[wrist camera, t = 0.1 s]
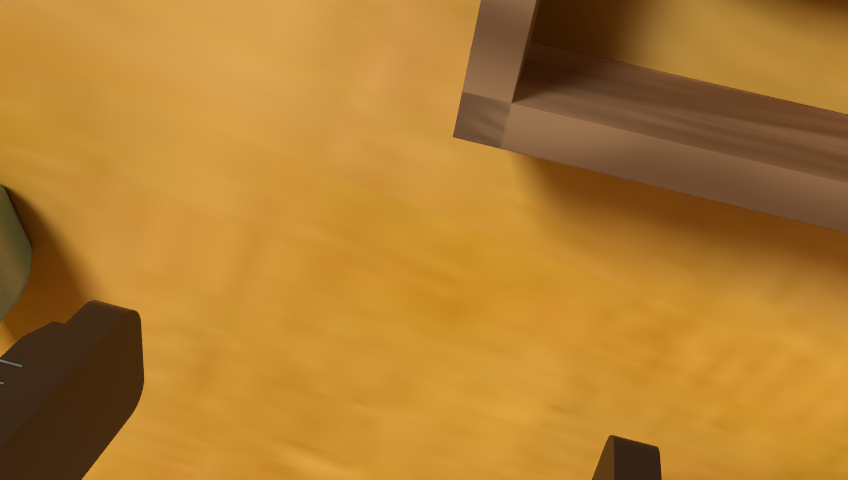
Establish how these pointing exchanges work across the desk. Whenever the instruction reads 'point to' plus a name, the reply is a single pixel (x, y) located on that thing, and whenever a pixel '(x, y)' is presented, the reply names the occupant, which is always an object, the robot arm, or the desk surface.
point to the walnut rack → (650, 124)
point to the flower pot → (12, 256)
